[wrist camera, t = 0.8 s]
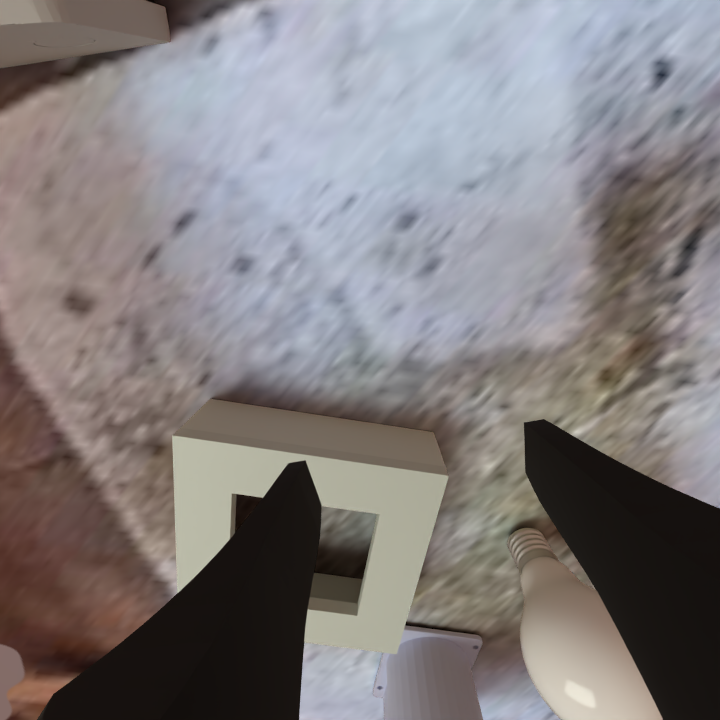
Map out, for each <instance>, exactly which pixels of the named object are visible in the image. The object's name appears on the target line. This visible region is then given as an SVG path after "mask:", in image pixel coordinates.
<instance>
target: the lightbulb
mask: <svg viewBox="0 0 720 720" xmlns="http://www.w3.org/2000/svg"><path fill="white" fill-rule="evenodd" d="M507 546H508V549H509V551H510V553H511V555H512V557H513V559H514V562H515V564H516V566H517V568H518V570H519V573H520V575H521V588H522V592H523V596H524V607H523V612H522V617H521V624H520V644H521V650H522V655H523V659H524V662H525V665H526V668H527V671H528V673H529V675H530V678H531V680H532V682H533V684H534V686H535V687H536V689H537V691H538V692H539V694H540V695H541V697H542V698H543V700H544V701H545V702H546V704H547V705H548V706H549V707H550V709H551V710H552V711H553V712H554V713H555V714H556V715H557V716H558V717H559V718H560V719H561V720H663V718H662V716H661V714H660V712H659V710H658V708H657V706H656V704H655V702H654V700H653V698H652V696H651V694H650V692H649V690H648V688H647V686H646V684H645V682H644V680H643V678H642V676H641V674H640V672H639V670H638V668H637V666H636V664H635V662H634V660H633V658H632V656H631V654H630V653H629V651H628V649H627V647H626V645H625V643H624V641H623V639H622V637H621V635H620V633H619V631H618V629H617V627H616V626H615V624H614V622H613V620H612V618H611V616H610V614H609V613H608V611H607V609H606V607H605V605H604V603H603V601H602V600H601V598H600V596H599V594H598V592H597V590H595V589H593V588H591V587H590V586H588V585H586V584H584V583H582V582H581V581H580V580H579V579H578V578H577V577H576V576H575V575H574V574H573V573H572V572H571V571H570V570H569V569H568V568H567V567H566V566H565V565H564V564H562V563H561V562H559V560H558V558H557V557H556V555H555V554H554V552H553V550H552V549H551V547H550V545H549V544H548V542H547V540H546V539H545V537H544V535H543V534H542V533H541V532H540V531H539V530H537V529H533V528H522V529H519V530H517V531H515V532H514V533H512V534H511V536H510V537H509V539H508V542H507Z"/></svg>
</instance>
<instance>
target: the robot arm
mask: <svg viewBox="0 0 720 720" xmlns="http://www.w3.org/2000/svg"><path fill="white" fill-rule="evenodd" d="M524 436H525V470H526V474H527V476H528V479H529V481H530V483H531V485H532V487H533V489H534V491H535V493H536V495H537V497H538V499H539V501H540V503H541V504H542V506H543V507H544V509H545V511H546V512H547V514H548V515H549V517H550V518H551V520H552V522H553V523H554V525H555V526H556V528H557V529H558V531H559V532H560V534H561V535H562V537H563V538H564V540H565V542H566V543H567V545H568V546H569V548H570V549H571V551H572V552H573V554H574V555H575V557H576V558H577V560H578V561H579V563H580V565H581V566H582V568H583V569H584V571H585V572H586V574H587V575H588V577H589V579H590V580H591V582H592V584H593V585H594V587H595V589H596V590H597V592H598V594H599V596H600V598H601V600H602V601H603V603H604V605H605V607H606V609H607V611H608V613H609V614H610V616H611V618H612V620H613V622H614V624H615V626H616V627H617V629H618V631H619V633H620V635H621V637H622V639H623V641H624V643H625V645H626V647H627V649H628V651H629V653H630V654H631V656H632V658H633V660H634V662H635V664H636V666H637V668H638V670H639V672H640V674H641V676H642V678H643V680H644V682H645V684H646V686H647V688H648V690H649V692H650V694H651V696H652V698H653V700H654V702H655V704H656V706H657V708H658V710H659V712H660V714H661V716H662V718H663V720H720V509H719V508H717V507H714V506H712V505H709V504H707V503H705V502H702V501H700V500H698V499H695V498H693V497H691V496H689V495H686V494H684V493H682V492H679V491H677V490H675V489H673V488H670V487H668V486H666V485H664V484H662V483H660V482H658V481H655V480H653V479H651V478H649V477H647V476H645V475H643V474H641V473H639V472H637V471H635V470H633V469H631V468H629V467H628V466H626V465H624V464H622V463H620V462H618V461H616V460H614V459H613V458H611V457H609V456H607V455H605V454H603V453H602V452H600V451H598V450H596V449H595V448H593V447H591V446H589V445H588V444H586V443H584V442H582V441H581V440H579V439H577V438H575V437H574V436H572V435H570V434H569V433H567V432H565V431H564V430H562V429H560V428H558V427H557V426H555V425H553V424H552V423H550V422H548V421H546V420H544V419H543V420H537V421H531V422H525V423H524ZM320 527H321V502H320V499H319V496H318V493H317V491H316V488H315V485H314V482H313V480H312V477H311V474H310V471H309V469H308V466H307V463H306V460H304V461H298V462H292V463H288V464H287V466H286V467H285V468H284V470H283V471H282V472H281V474H280V475H279V476H278V478H277V479H276V480H275V482H274V483H273V485H272V486H271V487H270V489H269V490H268V491H267V493H266V494H265V496H264V497H263V498H262V500H261V501H260V502H259V504H258V505H257V506H256V507H255V509H254V510H253V511H252V513H251V514H250V515H249V517H248V518H247V519H246V520H245V521H244V523H243V524H242V525H241V526H240V527H239V529H238V530H237V531H236V532H235V534H234V535H233V536H232V537H231V538H230V540H229V541H228V542H227V543H226V544H225V545H224V547H223V548H222V549H221V550H220V551H219V552H218V553H217V554H216V555H215V556H214V558H213V559H212V560H211V561H210V562H209V563H208V564H207V565H206V566H205V567H204V568H203V569H202V570H201V571H200V572H199V573H198V574H197V575H196V576H195V577H194V578H193V579H192V580H191V581H190V582H189V583H188V584H187V585H186V586H185V587H184V588H183V589H182V590H180V591H179V592H178V593H177V594H176V595H175V596H174V597H173V598H172V599H171V600H170V601H169V602H168V603H167V604H166V605H165V606H164V607H162V608H161V609H160V610H159V611H158V612H157V613H156V614H154V615H153V616H152V617H151V618H150V619H149V620H148V621H146V622H145V623H144V624H143V625H142V626H141V627H139V628H138V629H137V630H136V631H135V632H133V633H132V634H131V635H130V636H129V637H127V638H126V639H125V640H124V641H122V642H121V643H120V644H119V645H118V646H116V647H115V648H114V649H113V650H111V651H110V652H109V653H108V654H106V655H105V656H104V657H102V658H101V659H100V660H98V661H97V662H96V663H94V664H93V665H92V666H90V667H89V668H88V669H86V670H85V671H84V672H83V673H81V674H80V675H79V676H77V677H76V678H75V679H73V680H72V681H71V682H69V683H68V684H67V685H65V686H64V687H63V688H61V689H60V690H58V691H57V692H56V693H54V694H53V696H52V697H51V699H50V700H49V702H48V703H47V705H46V707H45V708H44V710H43V711H42V713H41V714H40V716H39V717H38V719H37V720H299V708H300V693H301V677H302V663H303V650H304V638H305V626H306V619H307V611H308V605H309V599H310V593H311V587H312V581H313V575H314V569H315V563H316V557H317V551H318V545H319V539H320ZM482 644H483V641H482V638H481V637H480V636H479V635H474V634H467V633H459V632H452V631H444V630H436V629H429V628H421V627H414V626H406V625H405V628H404V631H403V634H402V638H401V641H400V645H399V648H398V652H397V654H390V653H382V657H381V661H380V664H379V668H378V672H377V675H376V679H375V683H374V687H373V695H374V696H375V697H378V698H383V700H384V720H483V717H482V713H481V709H480V705H479V701H478V697H477V692H476V688H475V684H474V680H473V676H472V672H471V670H472V668H473V666H474V663H475V661H476V658H477V656H478V653H479V651H480V649H481V646H482Z"/></svg>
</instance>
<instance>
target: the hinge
mask: <svg viewBox="0 0 720 720" xmlns="http://www.w3.org/2000/svg"><path fill="white" fill-rule="evenodd" d="M168 42H170V31H169V25H168V20H167V14H166V8H165V7H164V6H161V5H158V4H155V2H154V0H0V68H7V67H13V66H20V65H26V64H33V63H39V62H46V61H52V60H58V59H65V58H71V57H78V56H84V55H91V54H97V53H103V52H110V51H116V50H123V49H129V48H136V47H142V46H149V45H155V44H161V43H168Z"/></svg>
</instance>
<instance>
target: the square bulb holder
mask: <svg viewBox="0 0 720 720" xmlns="http://www.w3.org/2000/svg"><path fill="white" fill-rule="evenodd" d="M172 438H173V469H174V500H175V531H176V562H177V592H179V591H180V590H182V589H183V588H184V587H185V586H186V585H187V584H188V583H189V582H190V581H191V580H192V579H193V578H194V577H195V576H196V575H197V574H198V573H199V572H200V571H201V570H202V569H203V568H204V567H205V566H206V565H207V564H208V563H209V562H210V561H211V560H212V559H213V558H214V556H215V555H216V554H217V553H218V552H219V551H220V550H221V549H222V548H223V547H224V545H225V544H226V543H227V542H228V541H229V540H230V538H231V537H232V536H233V535H234V534H235V517H236V494H240V495H247V496H255V497H262V498H263V497H264V496H265V494H266V493H267V491H268V490H269V489H270V487H271V486H272V485H273V483H274V482H275V480H276V479H277V478H278V476H279V475H280V474H281V472H282V471H283V470H284V468H285V467H286V466H287V464H288V463H292V462H298V461H304V460H306V463H307V466H308V469H309V471H310V474H311V477H312V480H313V482H314V485H315V488H316V491H317V493H318V496H319V499H320V502H321V506H325V507H332V508H339V509H346V510H353V511H360V512H367V513H374V514H377V517H376V521H375V526H374V531H373V535H372V540H371V544H370V549H369V554H368V558H367V563H366V567H365V572H364V577H363V579H357V578H350V577H342V576H335V575H328V574H320V573H314V575H313V581H312V587H311V593H310V599H309V605H308V611H307V619H306V626H305V638H304V642H305V643H313V644H321V645H328V646H336V647H344V648H351V649H359V650H367V651H375V652H382V653H390V654H397V652H398V648H399V645H400V641H401V638H402V634H403V631H404V628H405V624H406V621H407V617H408V614H409V610H410V607H411V604H412V600H413V597H414V593H415V590H416V587H417V583H418V580H419V576H420V573H421V569H422V566H423V563H424V559H425V556H426V552H427V549H428V546H429V542H430V539H431V535H432V532H433V528H434V525H435V522H436V518H437V515H438V511H439V508H440V505H441V501H442V498H443V494H444V491H445V487H446V484H447V481H448V477H449V475H448V472H447V469H446V466H445V463H444V461H443V458H442V455H441V452H440V449H439V446H438V443H437V441H436V438H435V435H434V432H429V431H422V430H416V429H409V428H402V427H396V426H389V425H382V424H376V423H369V422H362V421H356V420H349V419H342V418H336V417H329V416H322V415H316V414H309V413H302V412H296V411H289V410H282V409H276V408H269V407H262V406H255V405H249V404H242V403H235V402H229V401H222V400H215V399H210V400H209V401H208V402H206V403H205V404H204V405H203V406H202V407H201V408H200V409H199V410H198V411H197V412H196V413H195V414H194V415H193V416H192V417H191V418H190V419H189V420H188V421H187V422H186V423H185V424H184V425H183V426H182V427H181V428H180V429H179V430H177V431H176V432H175V433H174V434H173V435H172Z"/></svg>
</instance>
